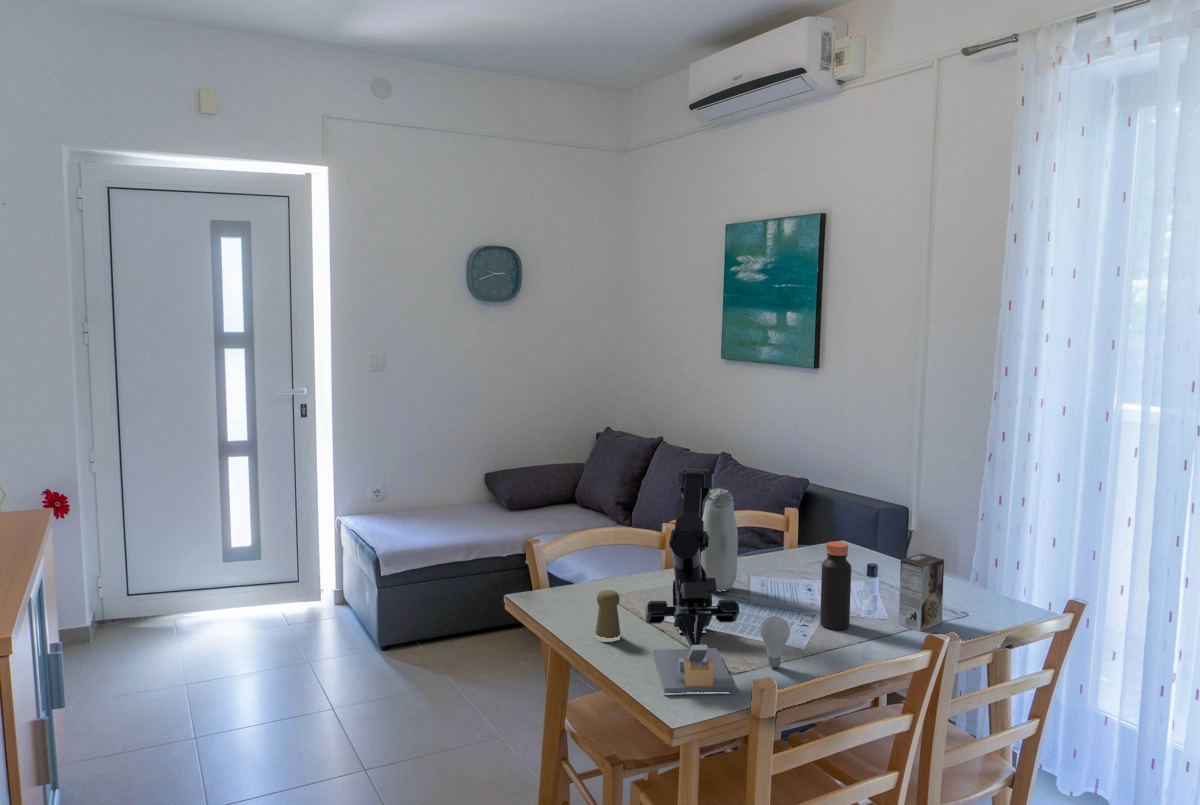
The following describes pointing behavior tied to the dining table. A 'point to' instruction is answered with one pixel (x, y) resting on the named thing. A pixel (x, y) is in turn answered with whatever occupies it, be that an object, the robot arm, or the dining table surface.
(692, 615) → the robot arm
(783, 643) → the lightbulb
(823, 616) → the black water bottle
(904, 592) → the coffee box
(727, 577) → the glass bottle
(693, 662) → the bar
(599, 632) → the cork
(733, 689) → the base plate
